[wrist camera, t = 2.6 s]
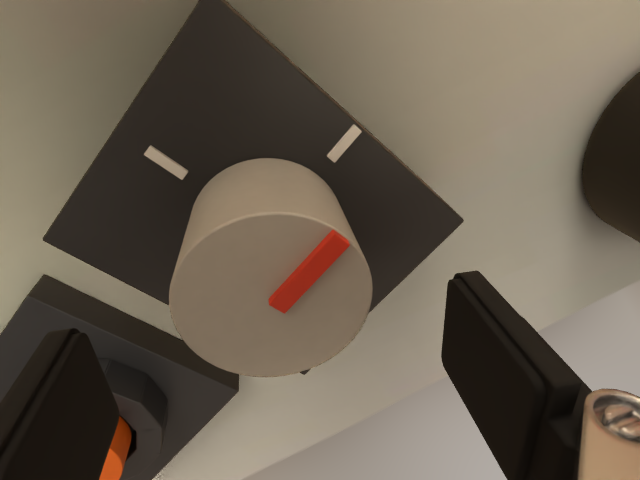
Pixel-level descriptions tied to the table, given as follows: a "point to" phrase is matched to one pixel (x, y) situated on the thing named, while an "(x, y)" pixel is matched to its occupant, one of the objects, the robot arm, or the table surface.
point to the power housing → (125, 371)
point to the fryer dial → (269, 272)
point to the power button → (117, 452)
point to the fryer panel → (237, 159)
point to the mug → (616, 162)
